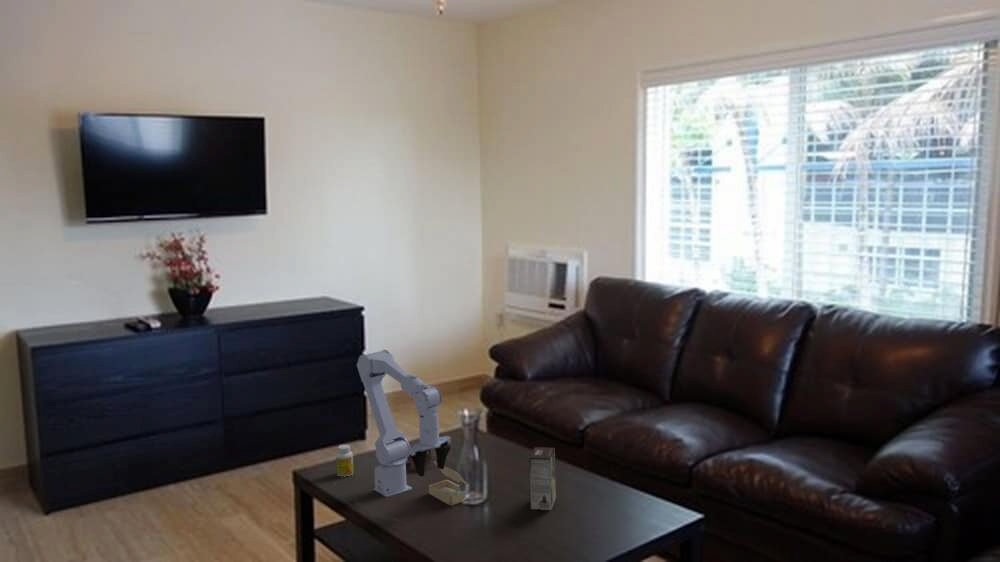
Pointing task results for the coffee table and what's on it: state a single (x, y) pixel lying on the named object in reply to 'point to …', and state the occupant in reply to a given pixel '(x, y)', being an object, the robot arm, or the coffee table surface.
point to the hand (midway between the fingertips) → (430, 471)
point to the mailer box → (443, 496)
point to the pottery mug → (427, 459)
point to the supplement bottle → (344, 461)
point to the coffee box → (542, 478)
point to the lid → (452, 474)
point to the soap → (448, 491)
